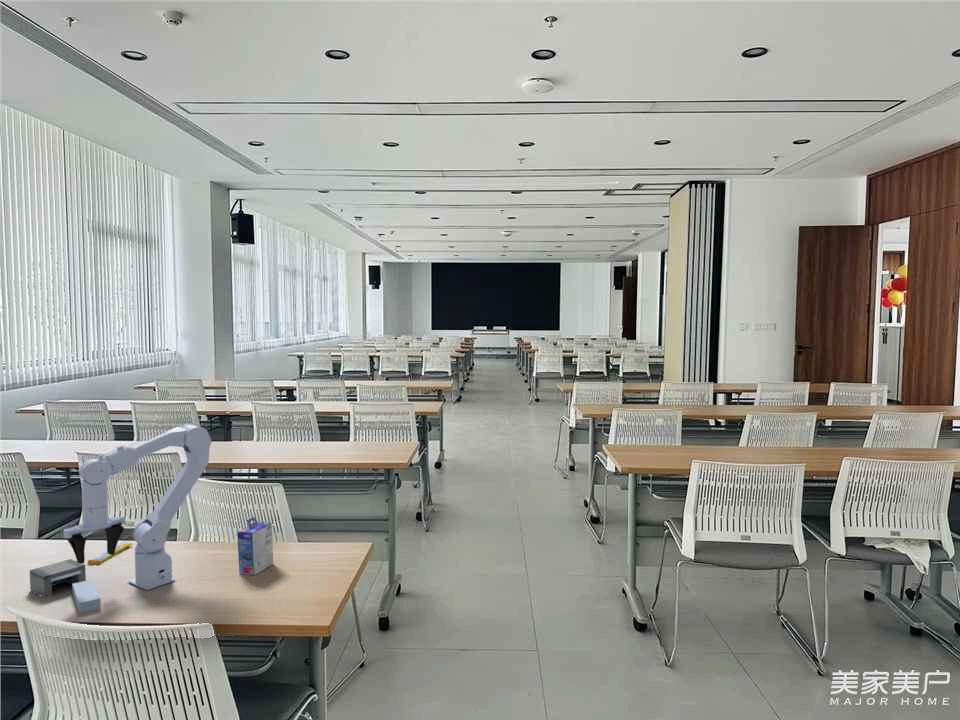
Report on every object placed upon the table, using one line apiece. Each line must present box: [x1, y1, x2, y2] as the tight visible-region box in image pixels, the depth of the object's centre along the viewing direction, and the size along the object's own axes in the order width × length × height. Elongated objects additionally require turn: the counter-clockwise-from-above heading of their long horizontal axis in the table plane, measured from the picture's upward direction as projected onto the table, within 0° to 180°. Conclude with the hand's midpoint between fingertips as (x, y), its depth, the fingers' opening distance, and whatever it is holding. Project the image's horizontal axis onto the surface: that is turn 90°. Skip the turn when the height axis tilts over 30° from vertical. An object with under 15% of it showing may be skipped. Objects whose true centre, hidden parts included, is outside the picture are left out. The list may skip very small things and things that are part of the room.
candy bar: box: [87, 542, 134, 565], centre depth 198 cm, size 17×4×2 cm, turn 176°
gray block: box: [29, 559, 87, 598], centre depth 172 cm, size 9×10×6 cm
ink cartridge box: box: [236, 516, 274, 576], centre depth 186 cm, size 10×6×14 cm, turn 165°
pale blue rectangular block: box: [71, 579, 101, 615], centre depth 164 cm, size 15×4×3 cm, turn 37°
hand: (96, 558), depth 168 cm, fingers open, 7 cm apart
